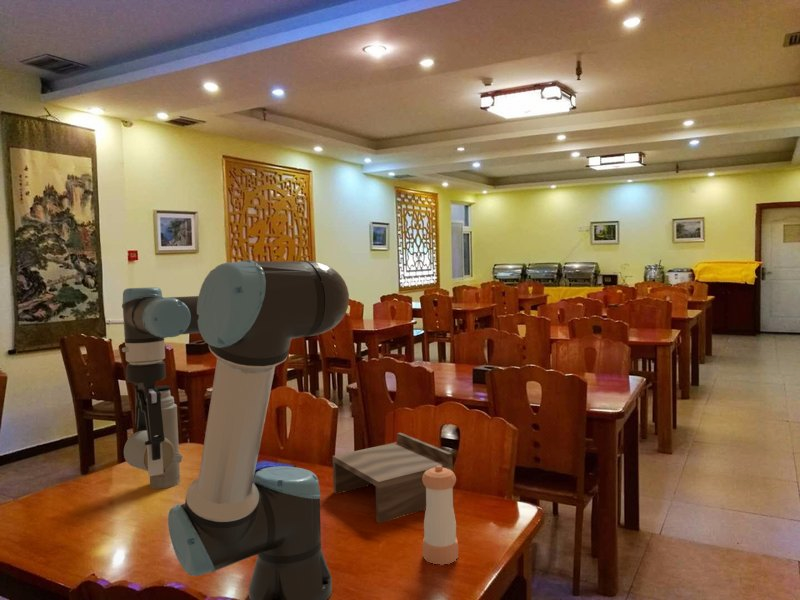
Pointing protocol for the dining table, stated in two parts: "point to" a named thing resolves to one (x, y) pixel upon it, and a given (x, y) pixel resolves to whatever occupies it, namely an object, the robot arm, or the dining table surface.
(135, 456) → the ceramic mug
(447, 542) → the pepper shaker
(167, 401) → the thermos bottle
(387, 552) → the dining table surface
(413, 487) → the walnut shelf
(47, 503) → the dining table surface
